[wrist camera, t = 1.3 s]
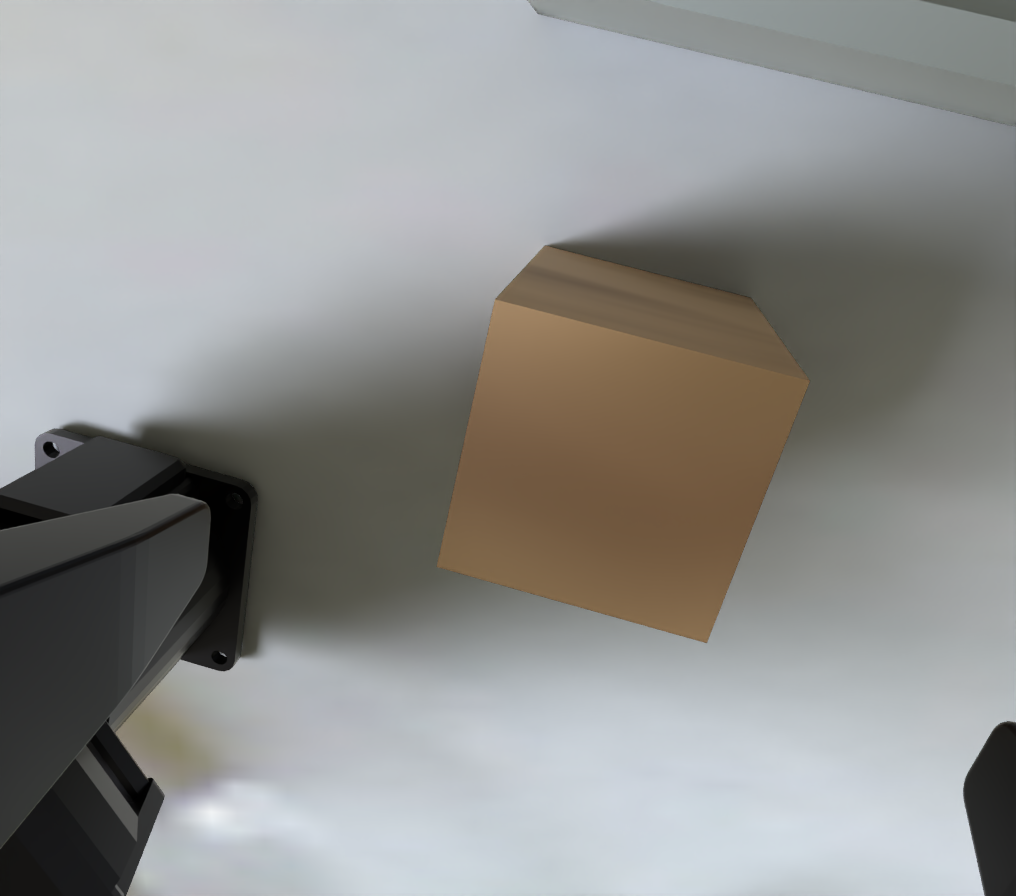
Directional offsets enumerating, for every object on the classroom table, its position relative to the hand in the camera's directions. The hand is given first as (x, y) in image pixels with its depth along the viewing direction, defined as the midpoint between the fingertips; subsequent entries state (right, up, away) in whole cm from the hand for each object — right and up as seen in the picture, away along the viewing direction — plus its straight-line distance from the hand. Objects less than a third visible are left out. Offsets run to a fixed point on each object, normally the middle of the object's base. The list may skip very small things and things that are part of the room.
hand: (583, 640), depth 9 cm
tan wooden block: (+2, +4, +11) cm, 12 cm away
